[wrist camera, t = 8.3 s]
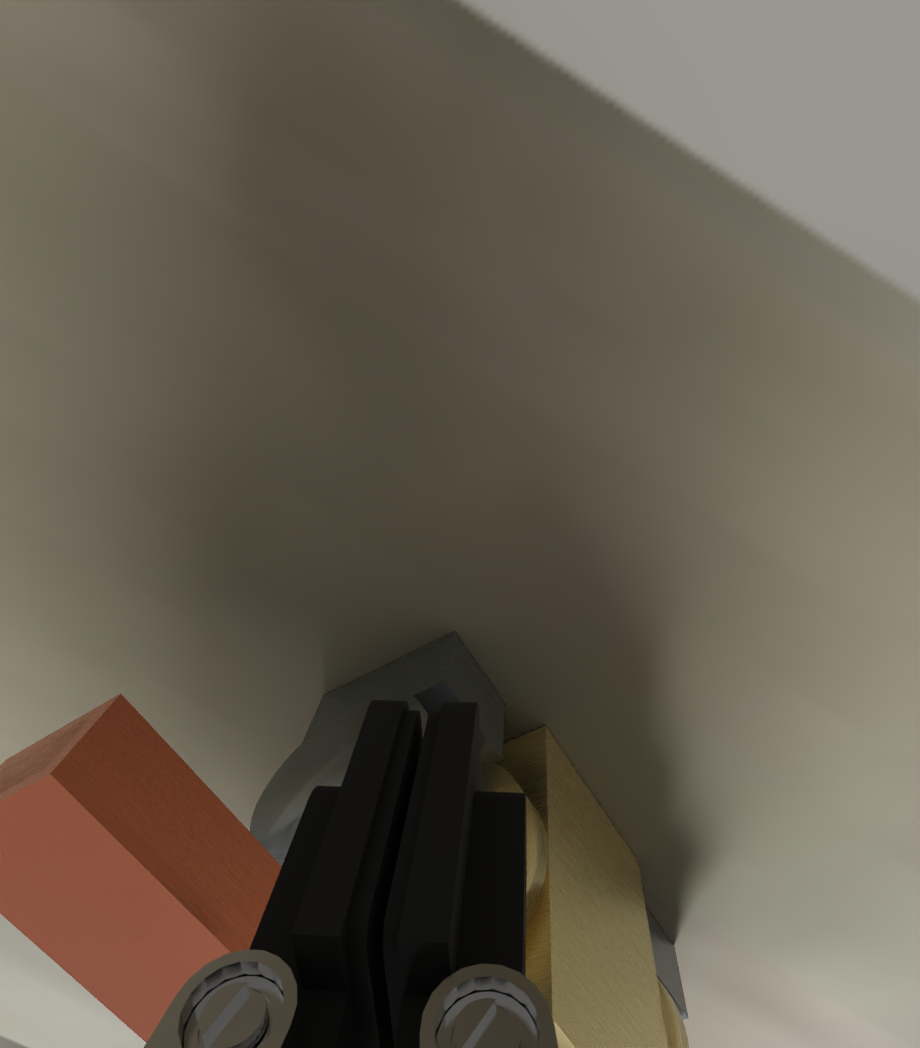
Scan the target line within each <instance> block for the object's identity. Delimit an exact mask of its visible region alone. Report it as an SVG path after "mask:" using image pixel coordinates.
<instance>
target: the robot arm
mask: <svg viewBox="0 0 920 1048" xmlns="http://www.w3.org/2000/svg"><path fill="white" fill-rule="evenodd" d="M526 887H527V830H526V793H512V792H483V789H482V766H481V742H480V719H479V705H478V702H443V704H442V708H441V711H429V714H428V718H427V722H426V727H425V732H424V736H423V735H422V722H421V714H420V711H419V710H409V706H408V703H407V701H396V700H372V701H371V702H370V704H369V706H368V709H367V712H366V715H365V718H364V721H363V724H362V727H361V730H360V733H359V736H358V738H357V741H356V744H355V747H354V750H353V753H352V756H351V759H350V762H349V765H348V768H347V771H346V773H345V776H344V779H343V782H342V785H341V786H316V787H315V788H314V789H313V790H312V792H311V794H310V796H309V798H308V801H307V803H306V806H305V809H304V811H303V814H302V816H301V819H300V821H299V824H298V826H297V829H296V832H295V834H294V837H293V839H292V842H291V844H290V847H289V849H288V852H287V855H286V857H285V860H284V862H283V865H282V867H281V870H280V872H279V875H278V877H277V880H276V883H275V885H274V888H273V890H272V893H271V895H270V898H269V900H268V903H267V906H266V908H265V911H264V913H263V916H262V918H261V921H260V923H259V926H258V928H257V931H256V934H255V936H254V939H253V941H252V944H251V946H250V949H245V950H240V951H236V952H232V953H227V954H225V955H223V956H221V957H219V958H217V959H215V960H213V961H211V962H209V963H207V964H206V965H205V966H203V967H202V968H201V969H200V970H199V971H197V972H196V973H195V974H194V975H193V976H191V977H190V978H189V979H188V981H187V982H186V983H185V984H184V986H183V987H182V988H181V989H180V991H179V992H178V993H177V995H176V996H175V997H174V999H173V1001H172V1002H171V1004H170V1006H169V1007H168V1009H167V1011H166V1012H165V1014H164V1015H163V1017H162V1019H161V1020H160V1022H159V1024H158V1025H157V1027H156V1028H155V1030H154V1032H153V1033H152V1035H151V1037H150V1038H149V1040H148V1041H147V1043H146V1045H145V1046H144V1048H558V1043H557V1037H556V1031H555V1025H554V1021H553V1018H552V1015H551V1012H550V1009H549V1006H548V1003H547V1001H546V999H545V998H544V996H543V995H542V993H541V992H540V991H539V989H538V988H537V986H536V985H535V984H534V983H533V982H531V981H530V980H529V979H528V978H526Z"/></svg>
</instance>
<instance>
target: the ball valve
mask: <svg viewBox="0 0 920 1048" xmlns="http://www.w3.org/2000/svg"><path fill="white" fill-rule="evenodd" d="M372 700H396V701H407V703H408V706H409V710H419V711H420V714H421V722H422V735H423V736H424V732H425V727H426V722H427V718H428V714H429V711H441V708H442V704H443V702H478V705H479V719H480V742H481V766H482V789H483V792H512V793H526V830H527V887H526V978H528V979H529V980H530V981H531V982H533V983H534V984H535V985H536V986H537V988H538V989H539V991H540V992H541V993H542V995H543V996H544V998H545V999H546V1001H547V1003H548V1006H549V1009H550V1012H551V1015H552V1018H553V1021H554V1025H555V1031H556V1037H557V1043H558V1048H689V1044H688V1038H687V1034H686V1030H685V1026H684V1023H683V1019H687V1018H688V1014H687V1009H686V1004H685V998H684V993H683V988H682V983H681V978H680V973H679V968H678V963H677V957H676V952H675V947H674V946H673V944H672V943H671V941H670V940H669V938H668V937H667V935H666V934H665V933H664V931H663V930H662V928H661V927H660V925H659V924H658V923H657V921H656V920H655V918H654V917H653V915H652V914H651V912H650V911H649V910H648V908H647V907H646V905H645V901H644V895H643V889H642V883H641V876H640V870H639V864H638V860H637V859H636V858H635V856H634V855H633V853H632V852H631V850H630V849H629V847H628V846H627V844H626V843H625V841H624V840H623V838H622V837H621V836H620V834H619V833H618V831H617V830H616V828H615V827H614V825H613V824H612V822H611V821H610V819H609V818H608V816H607V815H606V814H605V812H604V811H603V809H602V808H601V806H600V805H599V803H598V802H597V800H596V799H595V797H594V796H593V794H592V793H591V792H590V790H589V789H588V787H587V786H586V784H585V783H584V781H583V780H582V778H581V777H580V775H579V774H578V772H577V771H576V770H575V768H574V767H573V765H572V764H571V762H570V761H569V759H568V758H567V756H566V755H565V753H564V752H563V750H562V749H561V748H560V746H559V745H558V743H557V742H556V740H555V739H554V737H553V736H552V734H551V733H550V731H549V730H548V728H547V727H546V726H544V727H541V728H539V729H537V730H534V731H532V732H530V733H527V734H525V735H523V736H520V737H518V738H516V739H513V740H511V741H509V742H506V743H504V744H503V738H504V721H505V703H504V701H503V700H502V698H501V697H500V696H499V694H498V693H497V691H496V690H495V688H494V687H493V685H492V684H491V683H490V681H489V680H488V678H487V677H486V675H485V674H484V673H483V671H482V670H481V668H480V667H479V665H478V664H477V662H476V661H475V660H474V658H473V657H472V655H471V654H470V652H469V651H468V650H467V648H466V647H465V645H464V644H463V642H462V641H461V639H460V638H459V637H458V635H457V634H456V632H455V631H454V632H452V633H450V634H448V635H446V636H444V637H442V638H440V639H438V640H436V641H434V642H432V643H430V644H428V645H426V646H424V647H422V648H420V649H418V650H416V651H414V652H412V653H410V654H407V655H405V656H403V657H401V658H399V659H397V660H395V661H393V662H391V663H389V664H387V665H385V666H383V667H381V668H379V669H377V670H375V671H373V672H371V673H369V674H367V675H365V676H363V677H361V678H359V679H356V680H354V681H352V682H350V683H348V684H346V685H344V686H342V687H340V688H338V689H336V690H334V691H332V692H330V693H328V694H326V695H324V696H323V698H322V700H321V702H320V704H319V706H318V709H317V711H316V713H315V715H314V718H313V720H312V722H311V724H310V727H309V729H308V731H307V733H306V736H305V738H304V740H303V742H302V744H301V745H300V746H299V747H298V748H297V749H296V750H295V751H294V752H293V753H292V754H291V755H290V757H289V758H288V759H287V760H286V761H285V762H284V763H283V765H282V766H281V767H280V768H279V769H278V771H277V772H276V773H275V775H274V776H273V778H272V779H271V780H270V782H269V783H268V785H267V787H266V788H265V790H264V791H263V793H262V795H261V797H260V799H259V801H258V803H257V805H256V808H255V810H254V813H253V816H252V819H251V825H250V833H251V834H252V835H253V836H254V837H255V838H256V839H257V840H258V841H259V842H260V844H261V845H262V846H263V847H264V848H265V849H266V850H267V851H268V852H269V853H270V854H271V855H272V856H273V858H274V859H275V860H276V861H277V862H278V863H279V864H280V865H281V866H282V865H283V862H284V860H285V857H286V855H287V852H288V849H289V847H290V844H291V842H292V839H293V837H294V834H295V832H296V829H297V826H298V824H299V821H300V819H301V816H302V814H303V811H304V809H305V806H306V803H307V801H308V798H309V796H310V794H311V792H312V790H313V789H314V788H315V787H316V786H341V785H342V782H343V779H344V776H345V773H346V771H347V768H348V765H349V762H350V759H351V756H352V753H353V750H354V747H355V744H356V741H357V738H358V736H359V733H360V730H361V727H362V724H363V721H364V718H365V715H366V712H367V709H368V706H369V704H370V702H371V701H372Z"/></svg>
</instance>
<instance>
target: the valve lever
mask: <svg viewBox="0 0 920 1048" xmlns="http://www.w3.org/2000/svg"><path fill="white" fill-rule="evenodd" d="M281 867H282V866H281V865H280V864H279V863H278V862H277V861H276V860H275V859H274V858H273V856H272V855H271V854H270V853H269V852H268V851H267V850H266V849H265V848H264V847H263V846H262V845H261V844H260V842H259V841H258V840H257V839H256V838H255V837H254V836H253V835H252V834H251V833H250V832H249V831H248V830H247V829H246V827H245V826H244V825H243V824H242V823H241V822H240V821H239V820H238V819H237V818H236V817H235V816H234V815H233V813H232V812H231V811H230V810H229V809H228V808H227V807H226V806H225V805H224V804H223V803H222V802H221V801H220V800H219V798H218V797H217V796H216V795H215V794H214V793H213V792H212V791H211V790H210V789H209V788H208V787H207V786H206V784H205V783H204V782H203V781H202V780H201V779H200V778H199V777H198V776H197V775H196V774H195V773H194V772H193V771H192V769H191V768H190V767H189V766H188V765H187V764H186V763H185V762H184V761H183V760H182V759H181V758H180V757H179V756H178V754H177V753H176V752H175V751H174V750H173V749H172V748H171V747H170V746H169V745H168V744H167V743H166V742H165V740H164V739H163V738H162V737H161V736H160V735H159V734H158V733H157V732H156V731H155V730H154V729H153V728H152V727H151V725H150V724H149V723H148V722H147V721H146V720H145V719H144V718H143V717H142V716H141V715H140V714H139V713H138V711H137V710H136V709H135V708H134V707H133V706H132V705H131V704H130V703H129V702H128V701H127V700H126V699H125V698H124V696H123V695H122V694H119V695H117V696H116V697H114V698H112V699H111V700H109V701H107V702H105V703H104V704H102V705H100V706H98V707H97V708H95V709H93V710H91V711H90V712H88V713H86V714H85V715H83V716H81V717H79V718H78V719H76V720H74V721H72V722H71V723H69V724H67V725H66V726H64V727H62V728H60V729H59V730H57V731H55V732H53V733H52V734H50V735H48V736H47V737H45V738H43V739H41V740H40V741H38V742H36V743H34V744H33V745H31V746H29V747H27V748H26V749H24V750H22V751H21V752H19V753H17V754H15V755H14V756H12V757H10V758H8V759H7V760H5V762H4V763H3V764H2V765H1V766H0V914H2V915H3V916H4V917H5V918H6V919H7V920H8V921H10V922H11V923H12V924H13V925H14V926H15V927H16V928H17V929H19V930H20V931H21V932H22V933H23V934H24V935H25V936H26V937H28V938H29V939H30V940H31V941H32V942H33V943H34V944H36V945H37V946H38V947H39V948H40V949H41V950H42V951H43V952H45V953H46V954H47V955H48V956H49V957H50V958H51V959H52V960H54V961H55V962H56V963H57V964H58V965H59V966H60V967H62V968H63V969H64V970H65V971H66V972H67V973H68V974H69V975H71V976H72V977H73V978H74V979H75V980H76V981H77V982H78V983H80V984H81V985H82V986H83V987H84V988H85V989H86V990H88V991H89V992H90V993H91V994H92V995H93V996H94V997H95V998H97V999H98V1000H99V1001H100V1002H101V1003H102V1004H103V1005H104V1006H106V1007H107V1008H108V1009H109V1010H110V1011H111V1012H112V1013H114V1014H115V1015H116V1016H117V1017H118V1018H119V1019H120V1020H121V1021H123V1022H124V1023H125V1024H126V1025H127V1026H128V1027H129V1028H130V1029H132V1030H133V1031H134V1032H135V1033H136V1034H137V1035H138V1036H140V1037H141V1038H142V1039H143V1040H144V1041H145V1042H146V1043H147V1041H148V1040H149V1038H150V1037H151V1035H152V1033H153V1032H154V1030H155V1028H156V1027H157V1025H158V1024H159V1022H160V1020H161V1019H162V1017H163V1015H164V1014H165V1012H166V1011H167V1009H168V1007H169V1006H170V1004H171V1002H172V1001H173V999H174V997H175V996H176V995H177V993H178V992H179V991H180V989H181V988H182V987H183V986H184V984H185V983H186V982H187V981H188V979H189V978H190V977H191V976H193V975H194V974H195V973H196V972H197V971H199V970H200V969H201V968H202V967H203V966H205V965H206V964H207V963H209V962H211V961H213V960H215V959H217V958H219V957H221V956H223V955H225V954H227V953H232V952H236V951H240V950H245V949H250V946H251V944H252V941H253V939H254V936H255V934H256V931H257V928H258V926H259V923H260V921H261V918H262V916H263V913H264V911H265V908H266V906H267V903H268V900H269V898H270V895H271V893H272V890H273V888H274V885H275V883H276V880H277V877H278V875H279V872H280V870H281Z"/></svg>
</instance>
